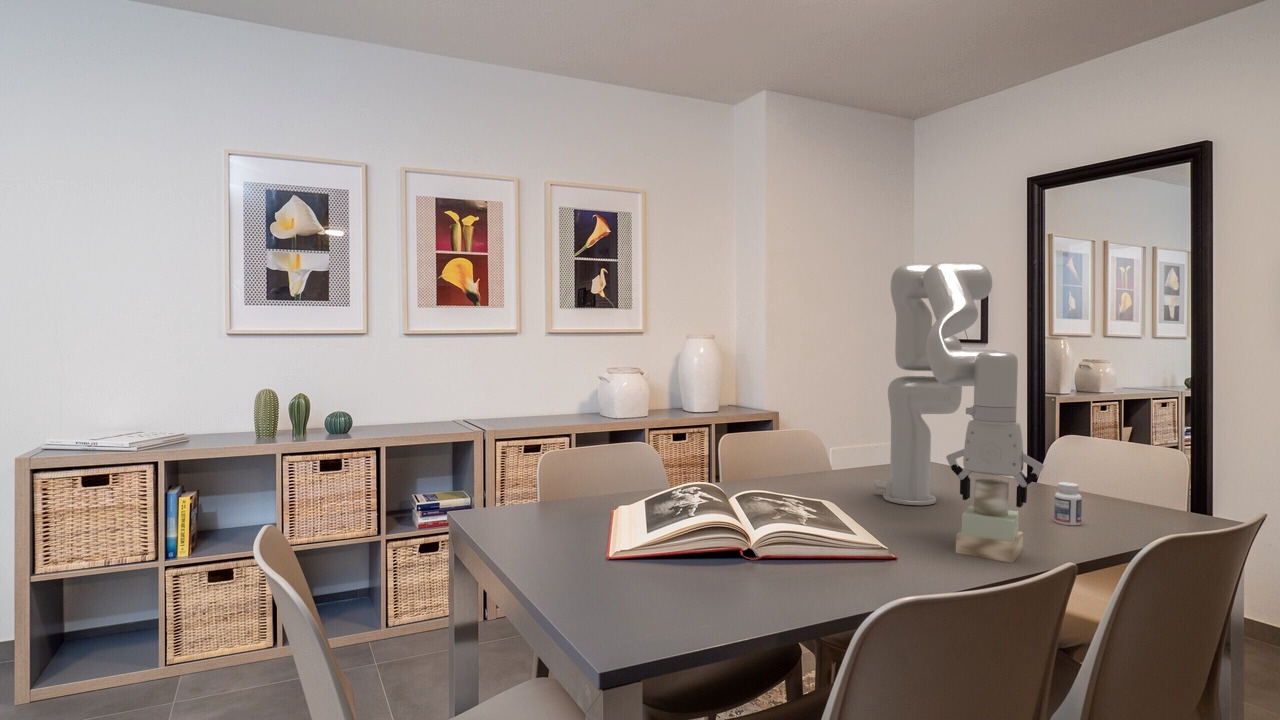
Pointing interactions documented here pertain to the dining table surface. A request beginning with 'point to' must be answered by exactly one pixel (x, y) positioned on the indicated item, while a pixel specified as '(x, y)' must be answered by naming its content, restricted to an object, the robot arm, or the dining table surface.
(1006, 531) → the tower top block
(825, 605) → the dining table surface
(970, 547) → the tower base block
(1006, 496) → the marbled beige cylinder
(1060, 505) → the pill bottle
